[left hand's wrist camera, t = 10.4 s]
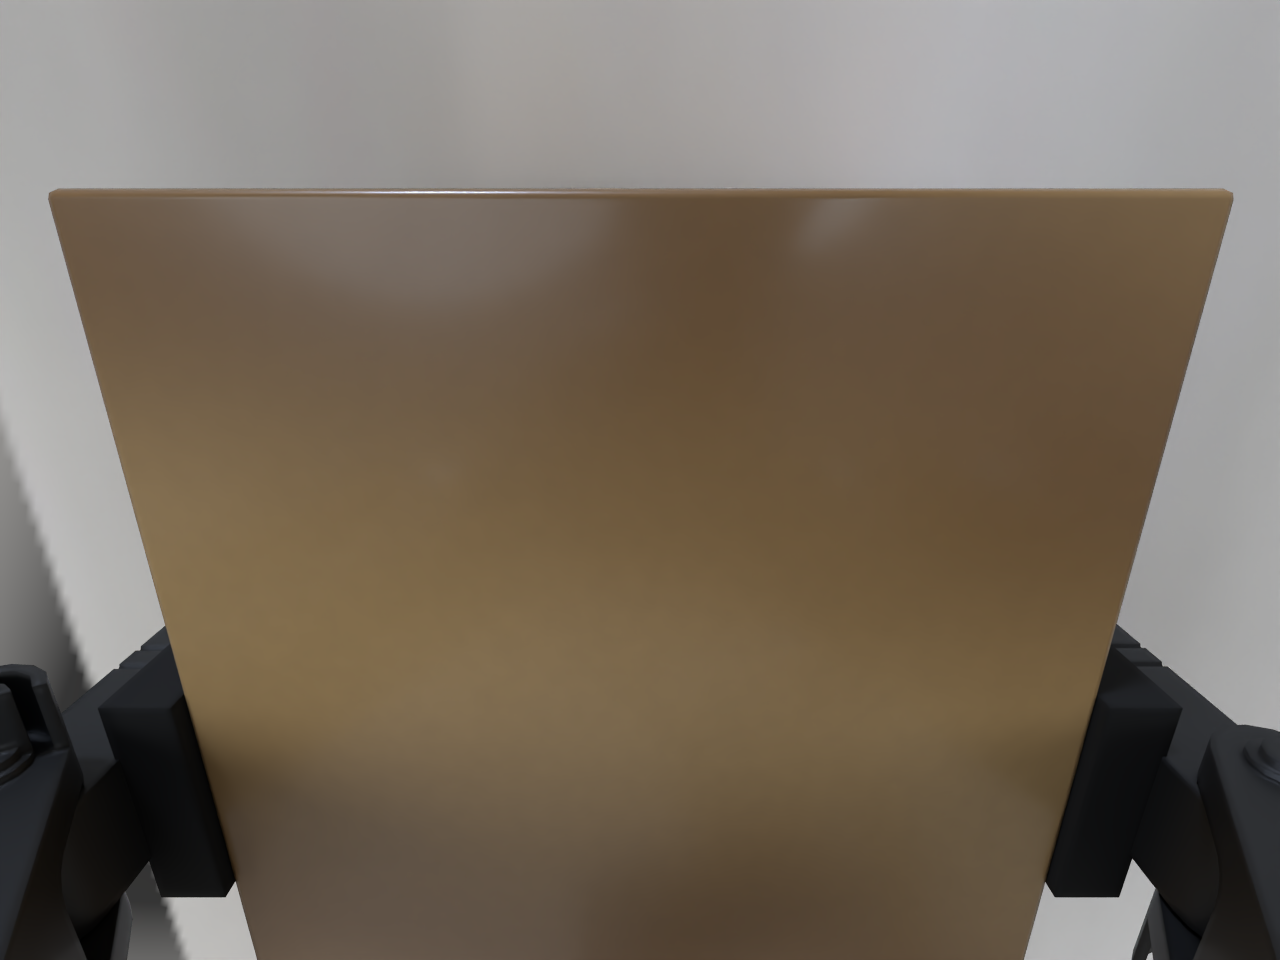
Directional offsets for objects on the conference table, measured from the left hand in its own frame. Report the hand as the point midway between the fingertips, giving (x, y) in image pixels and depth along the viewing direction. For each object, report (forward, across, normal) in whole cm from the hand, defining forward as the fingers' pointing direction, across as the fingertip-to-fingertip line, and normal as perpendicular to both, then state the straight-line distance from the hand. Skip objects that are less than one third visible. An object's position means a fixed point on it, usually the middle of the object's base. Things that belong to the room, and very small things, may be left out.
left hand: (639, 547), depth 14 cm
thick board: (+1, 0, -19) cm, 19 cm away
